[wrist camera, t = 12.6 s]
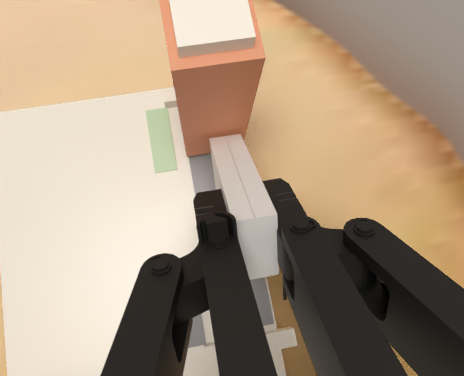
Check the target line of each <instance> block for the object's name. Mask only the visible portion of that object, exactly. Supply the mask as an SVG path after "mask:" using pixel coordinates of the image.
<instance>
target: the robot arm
mask: <svg viewBox="0 0 464 376" xmlns="http://www.w3.org/2000/svg"><path fill="white" fill-rule="evenodd" d="M209 142H210V149H211V157H212V165H213V173H214V180H215V188H216V190H211V191H204V192H198V193H197V194H196V196H195V198H194V199H193V204H194V210H195V217H196V228H197V234H198V240H199V242H198V244H197V246H196V248H195V249H194V250H193V251H192V252H190V253H189V254H187V255H185V256H183V257H181V258H178V257H177V256H175V255H173V254H169V253H163V254H157V255H155V256H152V257H150V258H149V259H147V260H146V261H145V262H144V263H143V265H142V266H141V268H140V271H139V274H138V276H137V279H136V282H135V284H134V287H133V290H132V292H131V295H130V298H129V300H128V303H127V306H126V308H125V311H124V314H123V316H122V319H121V322H120V324H119V327H118V330H117V332H116V335H115V338H114V340H113V343H112V346H111V348H110V351H109V354H108V356H107V359H106V362H105V364H104V367H103V370H102V372H101V375H100V376H183V372H184V367H185V361H186V356H187V351H188V345H189V340H190V335H191V329H192V324H193V318H194V317H196V316H198V315H200V314H202V313H204V312H206V311H208V310H209V311H210V317H211V324H212V330H213V337H214V343H215V350H216V356H217V363H218V370H219V376H278V375H277V372H276V369H275V365H274V362H273V358H272V355H271V351H270V348H269V344H268V341H267V337H266V334H265V330H264V327H263V323H262V320H261V317H260V313H259V310H258V306H257V303H256V299H255V296H254V292H253V289H252V285H251V282H250V280H252V279H257V278H263V277H268V276H274V275H279V266H280V268H281V271H282V273H283V298H284V300H287V296H288V299H289V302H290V304H291V307H292V310H293V312H294V315H295V318H296V320H297V323H298V326H299V328H300V331H301V334H302V336H303V339H304V342H305V344H306V347H307V350H308V352H309V355H310V358H311V360H312V363H313V366H314V368H315V371H316V374H317V376H408V375H407V374H406V372H405V370H404V368H403V367H402V365H401V363H400V362H399V360H398V358H397V356H396V355H395V353H394V351H393V350H392V348H391V346H392V347H393V348H394V349H395V350H396V351H397V352H398V354H399V355H400V356H401V357H402V358H403V359H404V360H405V361H406V362H407V363H408V365H409V366H410V367H411V368H412V369H413V370H414V371H415V372H416V373H417V374H418V376H464V289H463V288H462V287H461V286H460V285H458V284H457V283H456V282H454V281H453V280H452V279H451V278H449V277H448V276H447V275H445V274H444V273H443V272H442V271H440V270H439V269H438V268H436V267H435V266H434V265H433V264H431V263H430V262H429V261H427V260H426V259H425V258H424V257H422V256H421V255H420V254H418V253H417V252H416V251H415V250H413V249H412V248H411V247H409V246H408V245H407V244H406V243H404V242H403V241H402V240H400V239H399V238H398V237H397V236H395V235H394V234H393V233H391V232H390V231H389V230H388V229H386V228H385V227H384V226H382V225H381V224H380V223H378V222H376V221H374V220H371V219H367V218H356V219H351V220H350V221H348V222H346V224H345V225H344V229H328V228H323V227H321V226H320V225H319V223H318V222H317V221H316V220H314V219H312V218H310V217H307V215H306V213H305V211H304V210H303V208H302V206H301V204H300V203H299V201H298V199H297V198H296V195H295V194H294V192H293V190H292V188H291V187H290V185H289V184H288V183H287V182H285V181H284V180H282V179H281V178H279V179H273V180H267V181H262V180H261V177H260V175H259V173H258V171H257V169H256V166H255V164H254V162H253V160H252V158H251V155H250V153H249V151H248V149H247V147H246V145H245V142H244V140H243V138H242V136H241V134H236V135H229V136H222V137H216V138H209ZM390 345H391V346H390Z"/></svg>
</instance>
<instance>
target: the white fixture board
mask: <svg viewBox="0 0 464 376" xmlns="http://www.w3.org/2000/svg"><path fill="white" fill-rule="evenodd" d="M211 190H216V188H215V180H214V173H213V165H212V157H211V153H208V154H201V155H195V156H189V157H187V156H186V150H185V145H184V139H183V134H182V128H181V123H180V117H179V111H178V106H177V100H176V95H175V89H174V87H170V88H163V89H158V90H151V91H144V92H137V93H130V94H123V95H116V96H109V97H102V98H95V99H88V100H81V101H74V102H67V103H60V104H53V105H46V106H39V107H33V108H26V109H19V110H12V111H5V112H0V269H1V285H2V301H3V316H4V332H5V348H6V363H7V376H100V375H101V372H102V370H103V367H104V364H105V362H106V359H107V356H108V354H109V351H110V348H111V346H112V343H113V340H114V338H115V335H116V332H117V330H118V327H119V324H120V322H121V319H122V316H123V314H124V311H125V308H126V306H127V303H128V300H129V298H130V295H131V292H132V290H133V287H134V284H135V282H136V279H137V276H138V274H139V271H140V268H141V266H142V265H143V263H144V262H145V261H146V260H147V259H149V258H150V257H152V256H155V255H157V254H163V253H169V254H173V255H175V256H177V257H178V258H181V257H183V256H185V255H187V254H189V253H190V252H192V251H193V250H194V249H195V248H196V246H197V244H198V242H199V240H198V234H197V228H196V217H195V210H194V204H193V199H194V198H195V196H196V194H197V193H198V192H204V191H211ZM250 282H251V285H252V289H253V292H254V296H255V299H256V303H257V306H258V310H259V313H260V317H261V320H262V323H263V327H264V330H265V334H266V337H267V341H268V344H269V348H270V351H271V355H272V358H273V362H274V365H275V369H276V372H277V375H278V376H286V371H285V366H284V361H283V356H282V351H281V349H285V348H289V347H294V346H298V345H297V340H296V335H295V330H294V328H293V327H291V326H290V327H285V328H280V329H277V326H276V321H275V316H274V311H273V306H272V301H271V296H270V291H269V286H268V281H267V277H263V278H257V279H252V280H250ZM183 376H219V370H218V363H217V356H216V350H215V343H214V337H213V330H212V324H211V317H210V311H209V310H208V311H206V312H204V313H202V314H200V315H198V316H196V317H194V318H193V324H192V329H191V335H190V340H189V345H188V351H187V356H186V361H185V367H184V372H183Z"/></svg>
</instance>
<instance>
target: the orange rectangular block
mask: <svg viewBox="0 0 464 376" xmlns="http://www.w3.org/2000/svg"><path fill="white" fill-rule="evenodd" d="M159 2H160V8H161V14H162V19H163V25H164V31H165V37H166V43H167V49H168V55H169V61H170V67H171V72H172V78H173V84H174V89H175V95H176V100H177V106H178V111H179V117H180V123H181V128H182V134H183V139H184V145H185V150H186V156H187V157H189V156H195V155H201V154H208V153H211V149H210V142H209V138H216V137H222V136H229V135H236V134H241V136H242V138H243V140H244V138H245V134H246V130H247V126H248V122H249V119H250V115H251V111H252V107H253V103H254V99H255V96H256V92H257V88H258V84H259V80H260V77H261V73H262V69H263V65H264V61H265V54H264V49H263V45H262V41H261V36H260V32H259V27H258V23H257V18H256V14H255V10H254V5H253V1H252V0H159Z"/></svg>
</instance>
